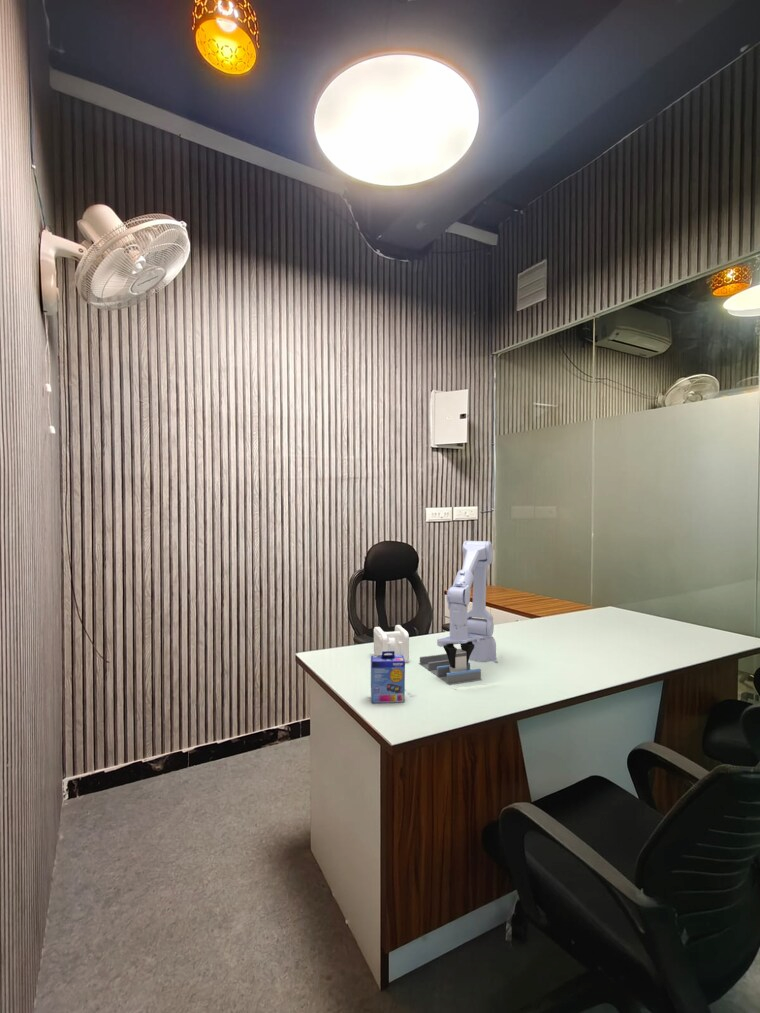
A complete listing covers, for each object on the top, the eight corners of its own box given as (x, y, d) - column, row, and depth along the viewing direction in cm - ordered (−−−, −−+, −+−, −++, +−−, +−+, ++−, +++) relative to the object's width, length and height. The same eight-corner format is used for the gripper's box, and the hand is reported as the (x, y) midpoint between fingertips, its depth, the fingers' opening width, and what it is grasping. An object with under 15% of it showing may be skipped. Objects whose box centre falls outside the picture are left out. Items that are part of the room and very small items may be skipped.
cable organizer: (410, 666, 161) (410, 633, 161) (381, 668, 159) (381, 635, 159) (398, 653, 176) (398, 623, 176) (372, 655, 173) (372, 625, 173)
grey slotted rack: (448, 662, 165) (448, 650, 166) (482, 683, 145) (482, 670, 145) (418, 666, 161) (418, 654, 161) (449, 688, 141) (449, 674, 141)
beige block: (460, 670, 150) (459, 648, 150) (466, 673, 146) (466, 651, 147) (449, 671, 149) (449, 649, 149) (455, 675, 145) (455, 653, 145)
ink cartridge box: (371, 704, 129) (371, 652, 129) (370, 696, 135) (370, 647, 135) (405, 703, 130) (405, 651, 130) (403, 695, 135) (403, 646, 136)
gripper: (444, 629, 141) (444, 673, 141) (484, 625, 146) (484, 667, 146) (434, 623, 148) (434, 666, 147) (472, 620, 153) (472, 660, 153)
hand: (458, 666), depth 147 cm, fingers closed on beige block, 4 cm apart
